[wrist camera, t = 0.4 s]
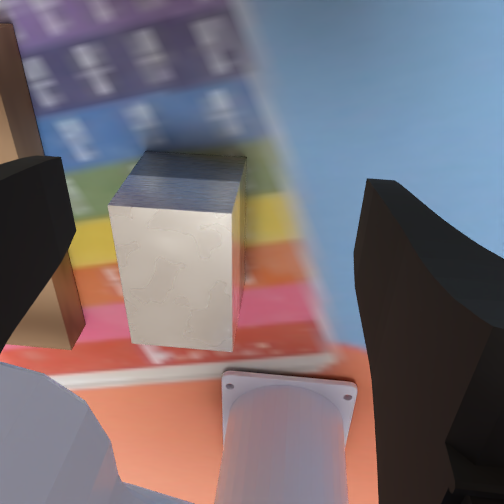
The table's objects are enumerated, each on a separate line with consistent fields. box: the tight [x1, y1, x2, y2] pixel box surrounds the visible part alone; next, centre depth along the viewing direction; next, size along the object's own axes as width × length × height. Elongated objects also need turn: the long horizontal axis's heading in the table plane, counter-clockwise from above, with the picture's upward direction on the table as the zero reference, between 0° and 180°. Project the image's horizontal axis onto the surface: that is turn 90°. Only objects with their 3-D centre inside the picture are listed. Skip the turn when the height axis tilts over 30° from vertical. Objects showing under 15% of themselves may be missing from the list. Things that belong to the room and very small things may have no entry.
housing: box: [108, 151, 247, 352], centre depth 21 cm, size 7×4×5 cm, turn 179°
